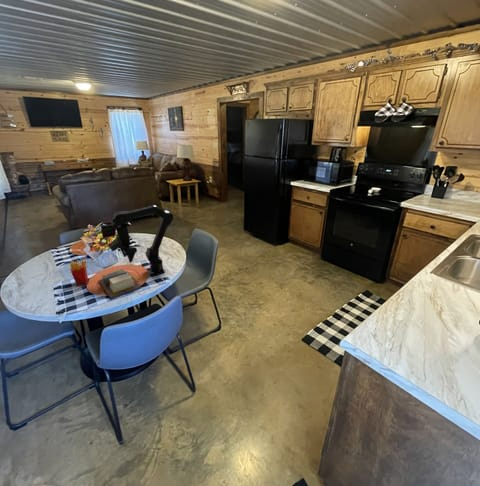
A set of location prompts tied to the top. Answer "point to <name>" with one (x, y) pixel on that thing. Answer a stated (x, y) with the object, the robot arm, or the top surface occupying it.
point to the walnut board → (119, 293)
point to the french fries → (79, 272)
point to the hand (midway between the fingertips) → (127, 259)
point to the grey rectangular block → (113, 275)
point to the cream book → (120, 279)
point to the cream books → (122, 286)
